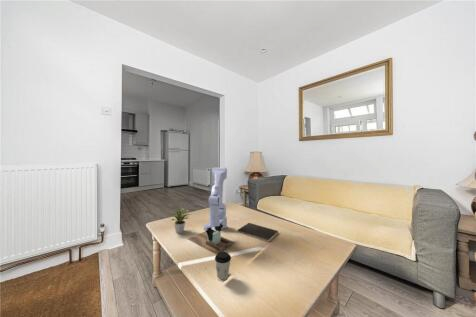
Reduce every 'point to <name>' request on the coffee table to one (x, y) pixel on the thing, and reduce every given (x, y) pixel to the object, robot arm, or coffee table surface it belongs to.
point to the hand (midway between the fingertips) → (213, 238)
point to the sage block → (215, 237)
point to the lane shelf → (202, 241)
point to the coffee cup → (222, 265)
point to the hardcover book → (258, 232)
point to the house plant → (180, 221)
